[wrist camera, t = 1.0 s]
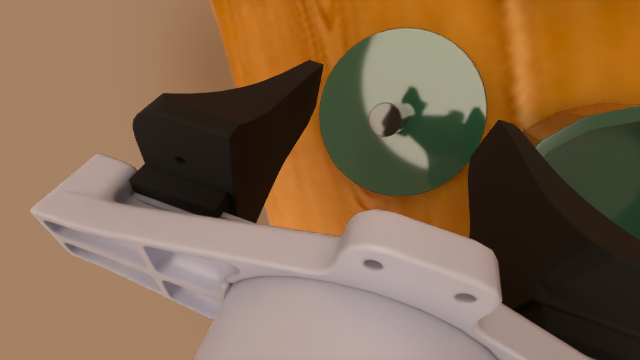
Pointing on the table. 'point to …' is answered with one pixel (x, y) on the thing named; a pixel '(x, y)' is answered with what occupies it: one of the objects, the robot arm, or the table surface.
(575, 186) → the pot
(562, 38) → the table surface
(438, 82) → the lid
